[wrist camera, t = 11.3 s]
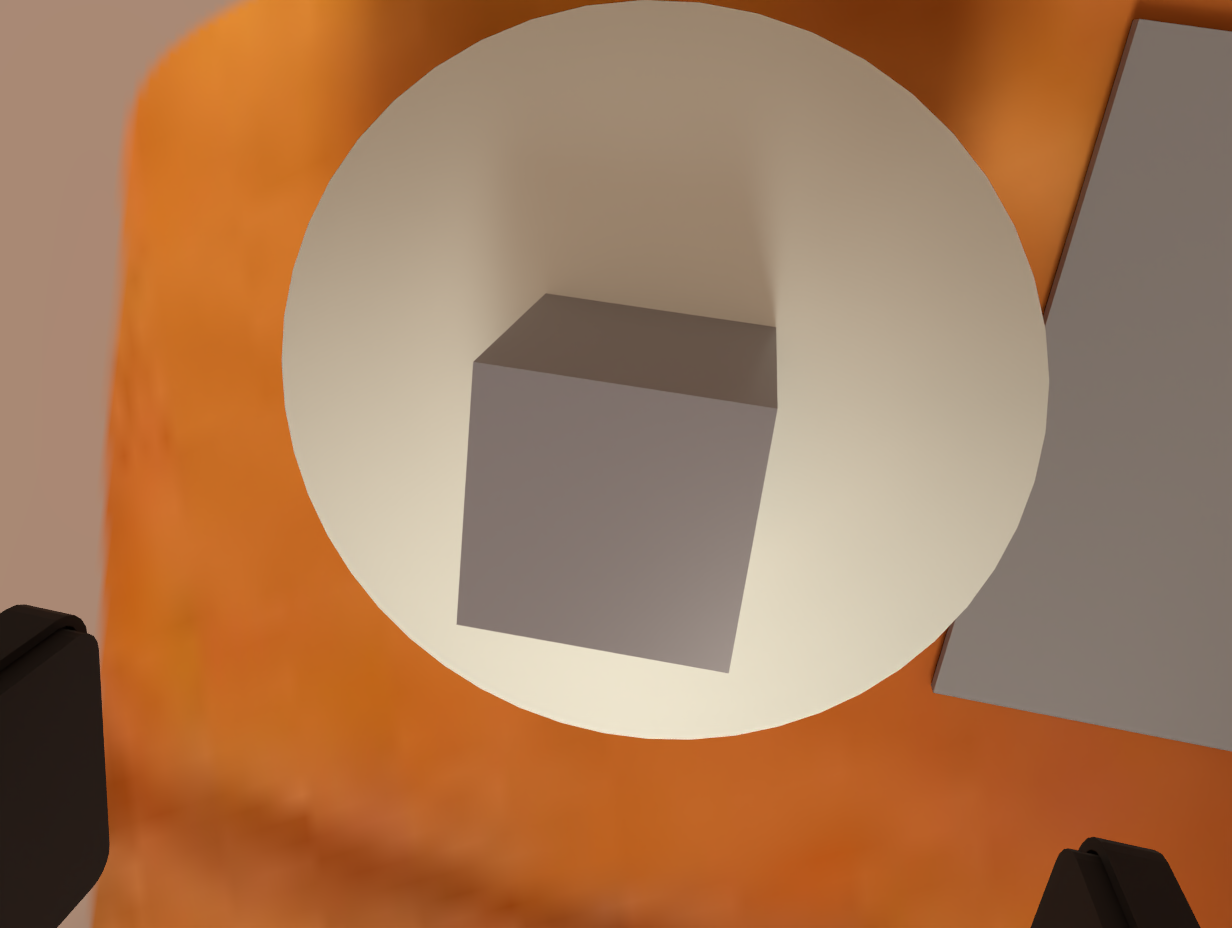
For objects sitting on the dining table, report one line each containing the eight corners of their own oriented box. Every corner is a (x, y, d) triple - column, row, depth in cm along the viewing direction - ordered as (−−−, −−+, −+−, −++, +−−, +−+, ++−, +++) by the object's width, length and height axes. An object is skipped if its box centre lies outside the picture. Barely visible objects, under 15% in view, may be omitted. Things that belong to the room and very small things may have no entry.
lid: (1143, 57, 17) (1315, 47, 12) (936, 773, 22) (987, 989, 17) (297, -43, 18) (100, -93, 13) (300, 654, 24) (163, 821, 19)
